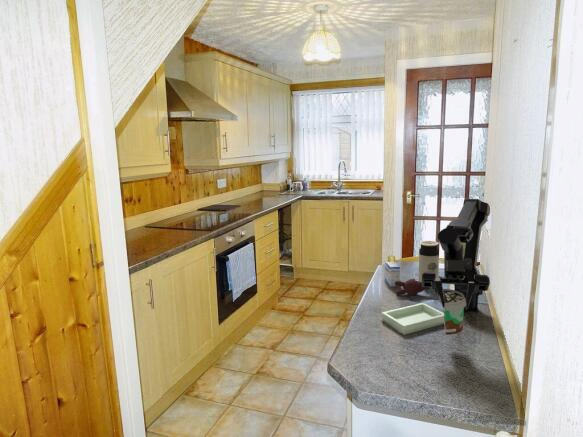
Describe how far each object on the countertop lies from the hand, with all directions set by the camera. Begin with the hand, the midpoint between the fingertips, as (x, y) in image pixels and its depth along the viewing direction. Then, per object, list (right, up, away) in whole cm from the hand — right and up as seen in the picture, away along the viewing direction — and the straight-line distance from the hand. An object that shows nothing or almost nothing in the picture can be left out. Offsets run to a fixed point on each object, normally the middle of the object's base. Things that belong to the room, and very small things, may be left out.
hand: (455, 308), depth 122 cm
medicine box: (-4, -2, +60) cm, 60 cm away
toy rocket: (+1, -5, +46) cm, 47 cm away
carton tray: (-5, -9, +22) cm, 25 cm away
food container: (+1, -7, +3) cm, 7 cm away
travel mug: (+11, -2, +58) cm, 59 cm away
